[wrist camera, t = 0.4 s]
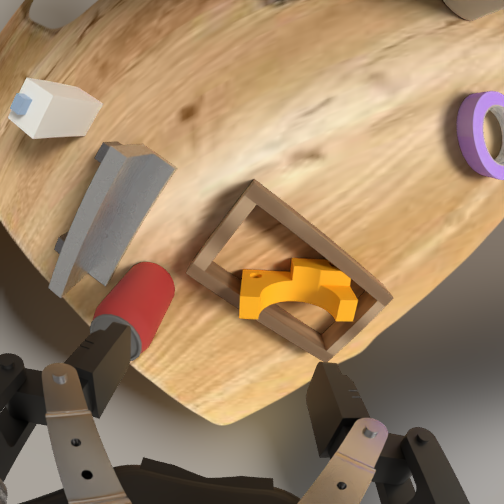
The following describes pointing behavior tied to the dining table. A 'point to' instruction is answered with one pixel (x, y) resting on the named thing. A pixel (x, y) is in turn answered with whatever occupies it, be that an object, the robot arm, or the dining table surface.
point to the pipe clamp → (299, 288)
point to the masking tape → (480, 132)
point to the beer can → (137, 304)
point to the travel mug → (474, 7)
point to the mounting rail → (109, 213)
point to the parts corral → (273, 314)
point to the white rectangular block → (53, 109)
